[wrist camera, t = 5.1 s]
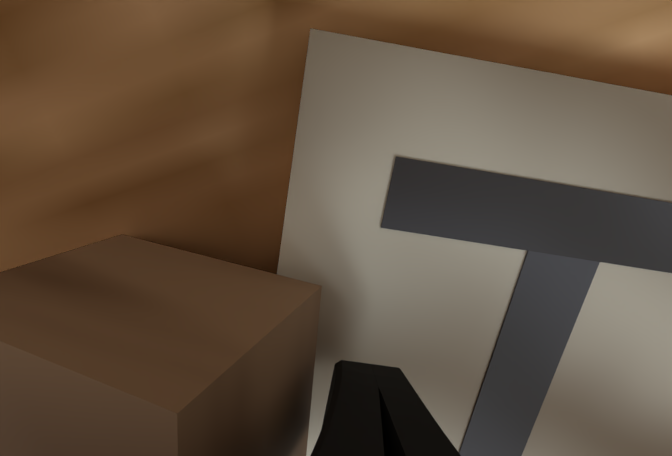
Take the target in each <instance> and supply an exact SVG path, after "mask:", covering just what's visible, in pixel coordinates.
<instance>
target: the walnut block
mask: <svg viewBox="0 0 672 456" xmlns="http://www.w3.org/2000/svg"><path fill="white" fill-rule="evenodd" d="M321 290H322V286H320V285H317V284H313V283H309V282H305V281H301V280H297V279H293V278H289V277H285V276H281V275H278V274H274V273H270V272H266V271H262V270H258V269H254V268H250V267H246V266H243V265H239V264H235V263H231V262H227V261H223V260H219V259H215V258H211V257H207V256H204V255H200V254H196V253H192V252H188V251H184V250H180V249H176V248H172V247H169V246H165V245H161V244H157V243H153V242H149V241H145V240H141V239H137V238H133V237H130V236H126V235H119V236H116V237H113V238H109V239H106V240H103V241H100V242H96V243H93V244H90V245H87V246H84V247H80V248H77V249H74V250H71V251H67V252H64V253H61V254H58V255H55V256H51V257H48V258H45V259H42V260H38V261H35V262H32V263H29V264H25V265H22V266H19V267H16V268H13V269H9V270H6V271H3V272H0V456H306V453H307V442H308V431H309V420H310V409H311V399H312V388H313V377H314V366H315V355H316V345H317V334H318V323H319V312H320V301H321Z"/></svg>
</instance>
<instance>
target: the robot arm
mask: <svg viewBox="0 0 672 456" xmlns="http://www.w3.org/2000/svg"><path fill="white" fill-rule="evenodd" d="M311 456H461V455H460V454H459V452H458V451H457V450H456V448H455V447H454V446H453V444H452V443H451V441H450V440H449V439H448V437H447V436H446V435H445V433H444V432H443V431H442V429H441V428H440V426H439V425H438V423H437V422H436V421H435V419H434V418H433V416H432V415H431V413H430V412H429V410H428V409H427V407H426V406H425V405H424V403H423V402H422V400H421V399H420V397H419V396H418V394H417V393H416V391H415V390H414V388H413V387H412V385H411V384H410V382H409V381H408V379H407V378H406V376H405V375H404V373H403V372H402V370H401V369H400V368H398V367H390V366H383V365H376V364H368V363H361V362H353V361H346V360H340V361H339V362H337V363H335V365H334V370H333V375H332V380H331V385H330V390H329V395H328V400H327V404H326V409H325V414H324V419H323V424H322V429H321V432H320V434H319V437H318V439H317V442H316V444H315V446H314V449H313V451H312V453H311Z"/></svg>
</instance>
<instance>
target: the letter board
mask: <svg viewBox="0 0 672 456" xmlns="http://www.w3.org/2000/svg"><path fill="white" fill-rule="evenodd" d="M277 274H278V275H281V276H285V277H289V278H293V279H297V280H301V281H305V282H309V283H313V284H317V285H320V286H322V290H321V301H320V312H319V323H318V334H317V345H316V355H315V366H314V377H313V388H312V399H311V409H310V420H309V431H308V442H307V453H306V456H311V453H312V451H313V449H314V446H315V444H316V442H317V439H318V437H319V434H320V432H321V429H322V424H323V419H324V414H325V409H326V404H327V400H328V395H329V390H330V385H331V380H332V375H333V370H334V365H335V363H337V362H339V361H340V360H346V361H353V362H361V363H368V364H376V365H383V366H390V367H398V368H400V369H401V370H402V372H403V373H404V375H405V376H406V378H407V379H408V381H409V382H410V384H411V385H412V387H413V388H414V390H415V391H416V393H417V394H418V396H419V397H420V399H421V400H422V402H423V403H424V405H425V406H426V407H427V409H428V410H429V412H430V413H431V415H432V416H433V418H434V419H435V421H436V422H437V423H438V425H439V426H440V428H441V429H442V431H443V432H444V433H445V435H446V436H447V437H448V439H449V440H450V441H451V443H452V444H453V446H454V447H455V448H456V450H457V451H458V452H459V454H460V455H461V456H672V95H667V94H662V93H656V92H651V91H646V90H640V89H635V88H629V87H624V86H619V85H613V84H608V83H603V82H597V81H592V80H586V79H581V78H576V77H570V76H565V75H559V74H554V73H549V72H543V71H538V70H532V69H527V68H522V67H516V66H511V65H505V64H500V63H495V62H489V61H484V60H478V59H473V58H468V57H462V56H457V55H451V54H446V53H441V52H435V51H430V50H425V49H419V48H414V47H408V46H403V45H398V44H392V43H387V42H381V41H376V40H371V39H365V38H360V37H354V36H349V35H344V34H338V33H333V32H327V31H322V30H317V29H311V28H310V36H309V43H308V50H307V58H306V65H305V72H304V79H303V87H302V94H301V101H300V109H299V116H298V123H297V130H296V138H295V145H294V152H293V160H292V167H291V174H290V181H289V189H288V196H287V203H286V211H285V218H284V225H283V232H282V240H281V247H280V254H279V262H278V269H277Z"/></svg>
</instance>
